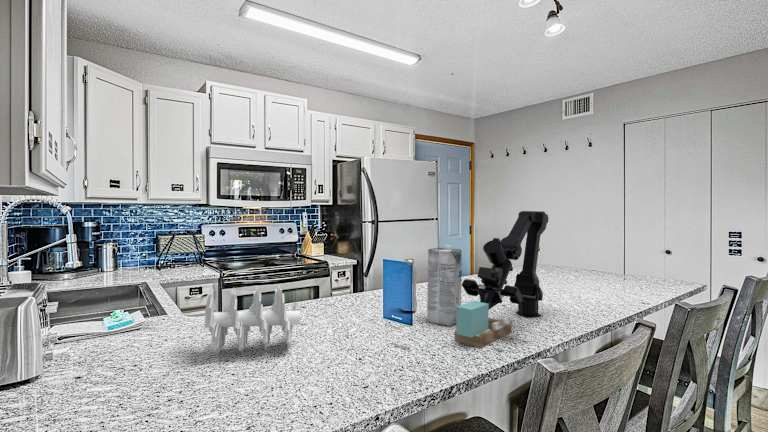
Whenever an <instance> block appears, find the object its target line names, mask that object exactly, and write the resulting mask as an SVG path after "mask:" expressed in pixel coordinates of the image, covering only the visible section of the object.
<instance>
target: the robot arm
mask: <svg viewBox="0 0 768 432" xmlns="http://www.w3.org/2000/svg"><path fill="white" fill-rule="evenodd" d="M548 223H549V215H548V214H546V212H545V211H543V210H542V211H538V210H537V211H536V210H535V211H533V210H531V211H530V210H528V211H527V210H521V211H519V212H518V217H517V219H516V221H515V223H514V224H513V226H512V228H511V230H510V232H509V234H508V235H507V236H506V237H504V238H502V239H500V238H499V237H498V238H497V237H493V239H492V240H489V241H488V242H486V243H485V244H483V248H482V249H483V252H484V254H485V255H486V257H487V259H488V262H489V263H490V264H492V266H491V267H482V266H479V267H478V268H479V269H478V272H477V278H479V279H481V280H480V282H481V283H477V280H474V279H469V278H468V279H467V278H466V279H463V281H462V282H461V287H462V288H463V289H464V291H465V294H466V295H468V296H474V297H477V296H479V302H483V303H488V304H489V310H491V309H492V308H494V307H495V306H496V305H499V304H502V303H503V298H504V297H509V301H510V303H511V304H516V305H517V311H516V312H515V313H516V314H518V315H520V316H523V317H526V318H534V317H541V315H542V314H540V313H539V302H542V301H543V298H544V293H543V290H542V288H541V286H540V279H539V277H538V275H537V267H538V266H537V265H538V257H539V250H540V249H539V247H540V243H541V242H540V241H541V235H542V234H543V233H544V232H545V230H546V229H547V225H548ZM525 236H526V238H525ZM524 239H525V245H524V246H525V248H524V253H523V254H524V256H523V261H522V270H521V271H520V273H517V274H516V275H515V281H514V285H507V283H508V280H507V278H508V275H509V274H510V272H513V271H514V268H513V263H512V261H511V260H513V261H517V260H519V258H520V257H521V255H522V250H523V249H522V242H523V240H524Z"/></svg>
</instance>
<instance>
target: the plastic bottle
mask: <svg viewBox="0 0 768 432" xmlns="http://www.w3.org/2000/svg"><path fill="white" fill-rule="evenodd" d="M405 261H407V262H412V263H413V312H416V310H417V309H418V301H417V281H418V276H419V275H418V270H417V268H416V267H415V259H414V258H404V262H405Z"/></svg>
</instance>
